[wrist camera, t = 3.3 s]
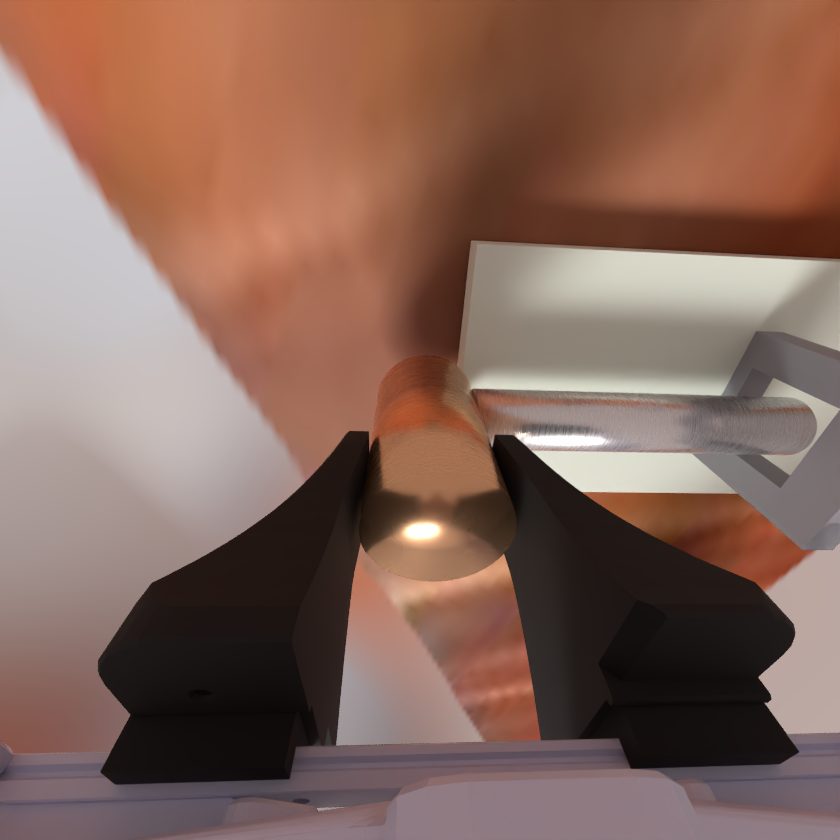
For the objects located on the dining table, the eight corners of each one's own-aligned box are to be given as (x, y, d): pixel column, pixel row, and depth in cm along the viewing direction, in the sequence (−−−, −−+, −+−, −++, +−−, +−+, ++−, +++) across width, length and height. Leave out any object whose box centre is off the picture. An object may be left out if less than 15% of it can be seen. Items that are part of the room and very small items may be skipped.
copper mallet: (730, 444, 17) (915, 580, 11) (378, 437, 16) (361, 581, 10) (778, 367, 15) (1038, 480, 9) (377, 354, 14) (354, 469, 8)
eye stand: (772, 477, 22) (931, 594, 15) (445, 472, 21) (464, 596, 14) (927, 263, 15) (1309, 305, 9) (471, 240, 14) (525, 269, 8)
